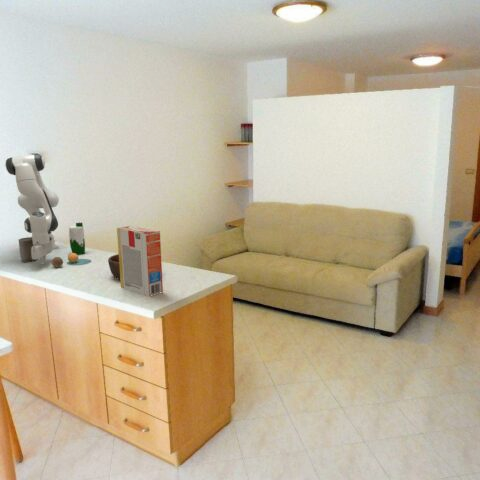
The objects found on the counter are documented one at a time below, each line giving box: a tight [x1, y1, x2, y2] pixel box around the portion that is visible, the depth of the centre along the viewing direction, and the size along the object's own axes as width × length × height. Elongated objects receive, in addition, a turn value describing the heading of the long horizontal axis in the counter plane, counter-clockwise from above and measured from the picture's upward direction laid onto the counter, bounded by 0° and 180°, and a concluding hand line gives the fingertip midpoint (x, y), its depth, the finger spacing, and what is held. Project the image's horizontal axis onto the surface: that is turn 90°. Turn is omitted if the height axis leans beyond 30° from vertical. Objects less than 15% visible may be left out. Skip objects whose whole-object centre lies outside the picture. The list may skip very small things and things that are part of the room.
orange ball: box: [67, 252, 79, 263], centre depth 274 cm, size 6×6×6 cm
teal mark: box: [66, 258, 92, 266], centre depth 276 cm, size 14×14×1 cm
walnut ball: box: [51, 256, 64, 268], centre depth 265 cm, size 6×6×6 cm
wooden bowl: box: [107, 253, 120, 280], centre depth 247 cm, size 25×25×10 cm
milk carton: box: [68, 222, 86, 256], centre depth 296 cm, size 9×9×20 cm
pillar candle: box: [18, 236, 36, 263], centre depth 281 cm, size 10×10×15 cm
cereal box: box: [116, 225, 164, 297], centre depth 220 cm, size 23×8×30 cm, turn 48°
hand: (43, 263), depth 269 cm, fingers closed
